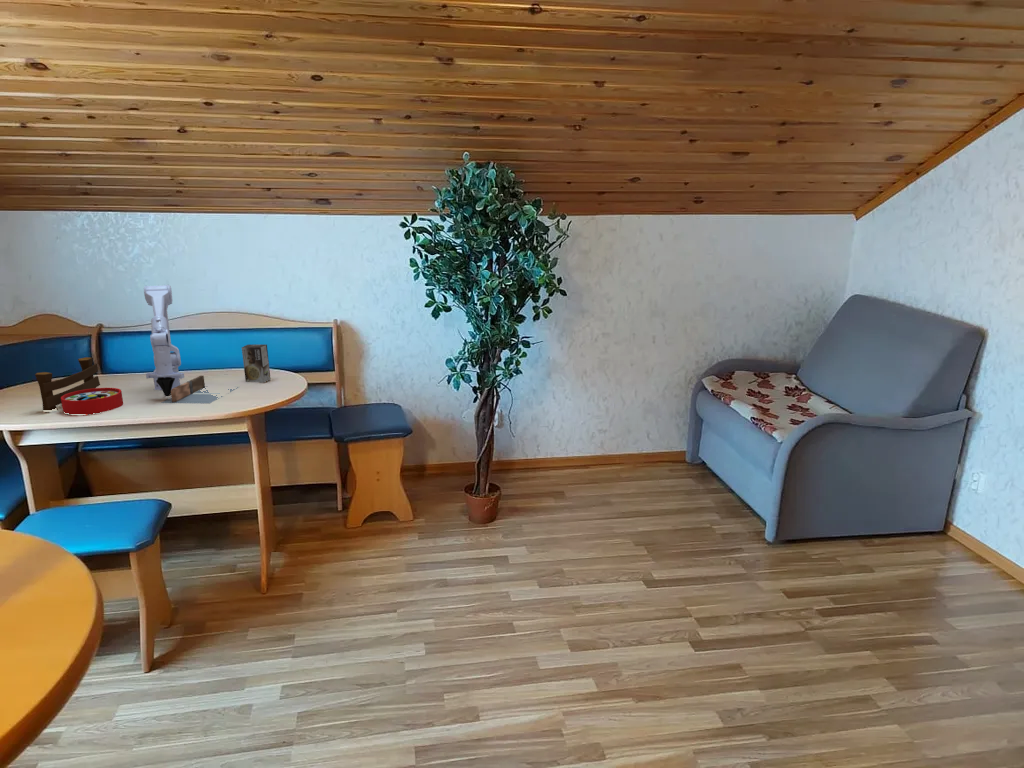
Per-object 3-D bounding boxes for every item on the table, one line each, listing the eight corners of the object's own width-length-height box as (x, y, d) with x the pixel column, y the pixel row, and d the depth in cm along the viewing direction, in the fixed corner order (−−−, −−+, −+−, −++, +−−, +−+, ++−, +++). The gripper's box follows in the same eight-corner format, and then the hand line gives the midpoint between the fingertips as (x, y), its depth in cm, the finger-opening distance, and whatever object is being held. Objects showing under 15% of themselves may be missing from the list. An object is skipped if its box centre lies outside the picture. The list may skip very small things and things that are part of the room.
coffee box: (271, 379, 305) (267, 344, 301) (264, 383, 299) (261, 347, 295) (251, 379, 306) (248, 344, 302) (244, 382, 300) (241, 346, 296)
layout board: (160, 403, 267) (160, 402, 267) (194, 387, 292) (194, 386, 292) (209, 404, 266) (209, 403, 266) (239, 387, 291) (239, 386, 291)
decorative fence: (51, 413, 256) (44, 374, 252) (36, 413, 256) (29, 375, 252) (103, 390, 288) (97, 356, 285) (89, 391, 288) (83, 356, 285)
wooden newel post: (187, 393, 279) (185, 382, 278) (191, 393, 279) (189, 382, 278) (171, 401, 267) (169, 389, 266) (175, 401, 267) (173, 389, 266)
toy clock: (132, 387, 270) (100, 401, 251) (134, 402, 272) (102, 416, 252) (83, 387, 271) (47, 400, 252) (86, 401, 273) (50, 416, 253)
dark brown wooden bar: (187, 394, 280) (186, 382, 278) (201, 387, 291) (200, 375, 290) (191, 394, 280) (190, 382, 278) (205, 387, 291) (204, 375, 289)
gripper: (139, 364, 265) (144, 398, 268) (175, 364, 264) (180, 398, 267) (150, 360, 272) (154, 393, 275) (185, 360, 271) (189, 393, 274)
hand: (167, 395), depth 272 cm, fingers closed
